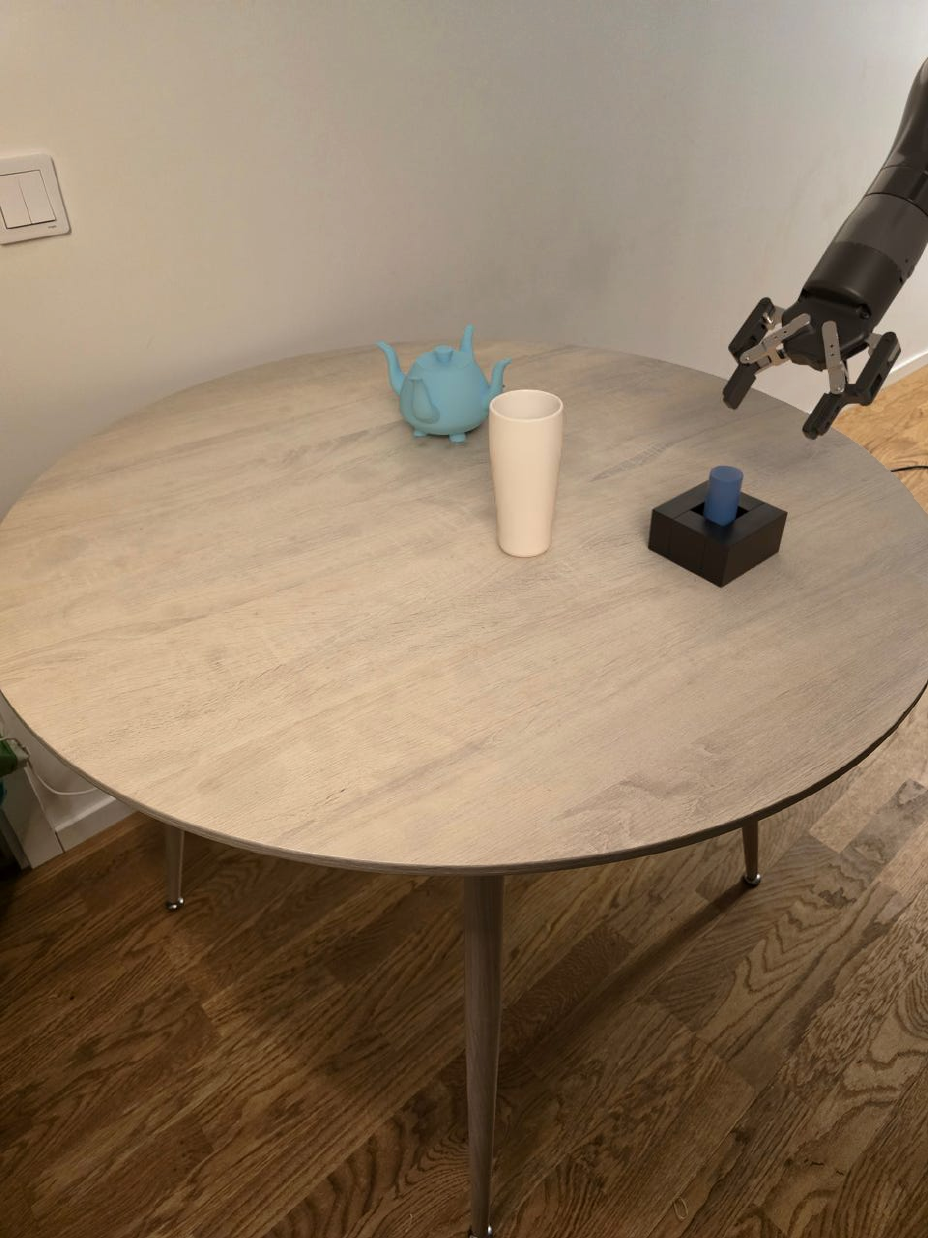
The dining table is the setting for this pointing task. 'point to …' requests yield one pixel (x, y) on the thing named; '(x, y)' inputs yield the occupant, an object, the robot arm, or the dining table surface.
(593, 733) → the dining table surface
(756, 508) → the holder
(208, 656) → the dining table surface
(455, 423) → the teapot
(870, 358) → the robot arm
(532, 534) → the drinking glass
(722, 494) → the handle
